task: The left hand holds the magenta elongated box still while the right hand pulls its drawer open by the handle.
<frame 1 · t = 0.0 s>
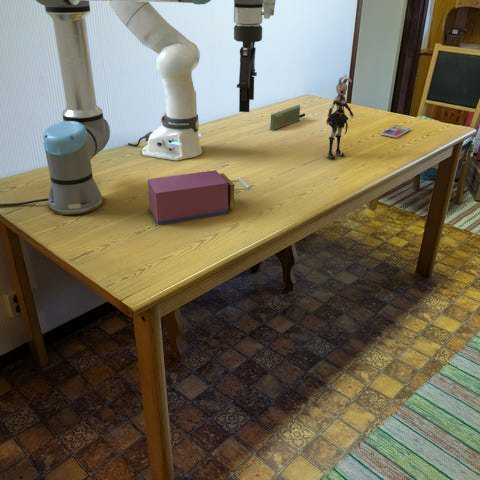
left hand: (246, 105, 144), 28 cm above the table, tool pointing down, fingers open, 13 cm apart
right hand: (268, 16, 163), 48 cm above the table, tool pointing down, fingers open, 8 cm apart
magenta elongated box: (188, 211, 147), on the table
figurine: (333, 156, 189), on the table
drawer: (207, 193, 147), point 5 cm above the table, slide at 1.0 cm
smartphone: (395, 133, 215), on the table
handheld radio: (288, 123, 225), on the table
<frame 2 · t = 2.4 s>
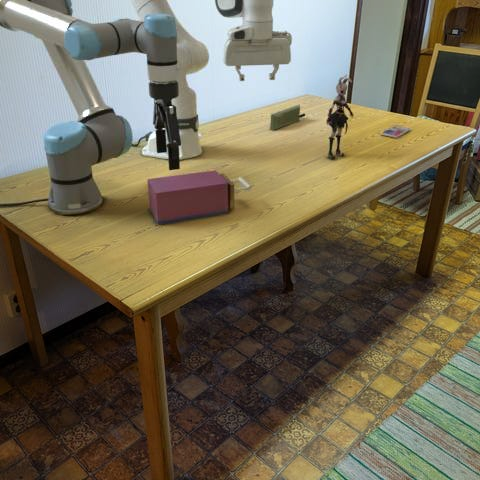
left hand: (167, 160, 138), 16 cm above the table, tool pointing down, fingers open, 13 cm apart
right hand: (256, 80, 155), 32 cm above the table, tool pointing down, fingers open, 8 cm apart
nothing on the table moved.
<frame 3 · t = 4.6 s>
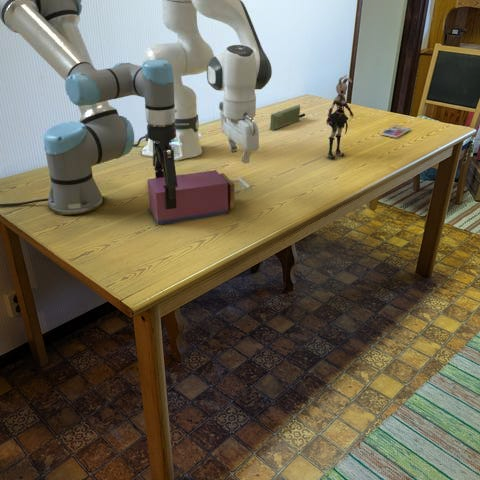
left hand: (166, 200, 143), 5 cm above the table, tool pointing down, fingers closed on magenta elongated box, 10 cm apart
right hand: (239, 157, 146), 15 cm above the table, tool pointing down, fingers open, 8 cm apart
magenta elongated box: (188, 211, 147), on the table, touching left hand
everything else where it was.
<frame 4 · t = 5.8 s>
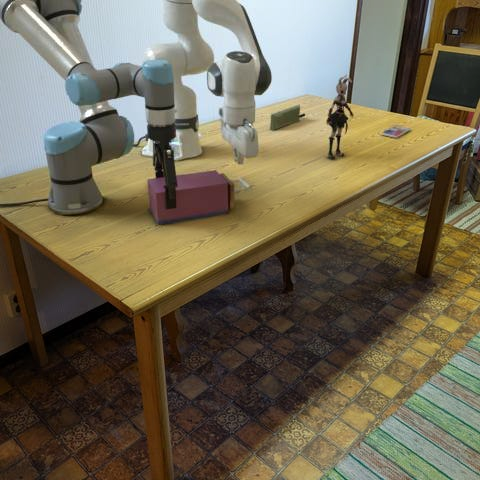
left hand: (166, 200, 143), 5 cm above the table, tool pointing down, fingers closed on magenta elongated box, 10 cm apart
right hand: (238, 162, 146), 13 cm above the table, tool pointing down, fingers closed
magenta elongated box: (188, 211, 147), on the table, touching left hand
everything else where it was.
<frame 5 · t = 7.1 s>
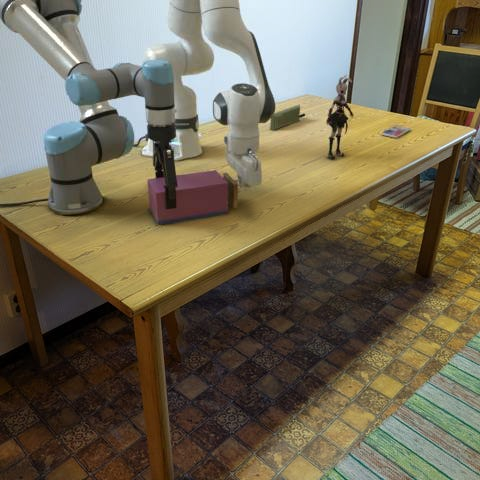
left hand: (166, 200, 143), 5 cm above the table, tool pointing down, fingers closed on magenta elongated box, 10 cm apart
right hand: (242, 188, 151), 5 cm above the table, tool pointing down, fingers closed, pressing on drawer
magenta elongated box: (188, 211, 147), on the table, touching left hand
drawer: (210, 193, 147), point 5 cm above the table, slide at 2.1 cm, touching right hand
everything else where it was.
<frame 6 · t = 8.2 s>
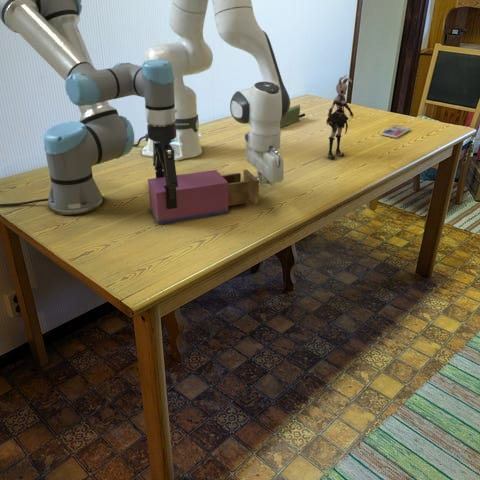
left hand: (166, 200, 143), 5 cm above the table, tool pointing down, fingers closed on magenta elongated box, 10 cm apart
right hand: (263, 185, 153), 5 cm above the table, tool pointing down, fingers closed, pressing on drawer
magenta elongated box: (189, 210, 148), on the table, touching left hand
drawer: (231, 189, 150), point 5 cm above the table, slide at 8.5 cm, touching right hand
everything else where it was.
when the left hand's fingers open (5 cm above the table, at t = 9.6 s): magenta elongated box stays where it is, on the table.
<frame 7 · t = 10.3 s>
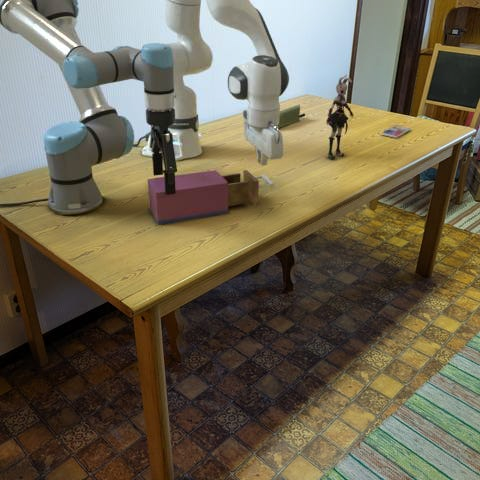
left hand: (164, 184, 141), 9 cm above the table, tool pointing down, fingers open, 13 cm apart
right hand: (262, 163, 149), 12 cm above the table, tool pointing down, fingers closed
magenta elongated box: (188, 211, 148), on the table
drawer: (231, 189, 150), point 5 cm above the table, slide at 8.5 cm
everything else where it was.
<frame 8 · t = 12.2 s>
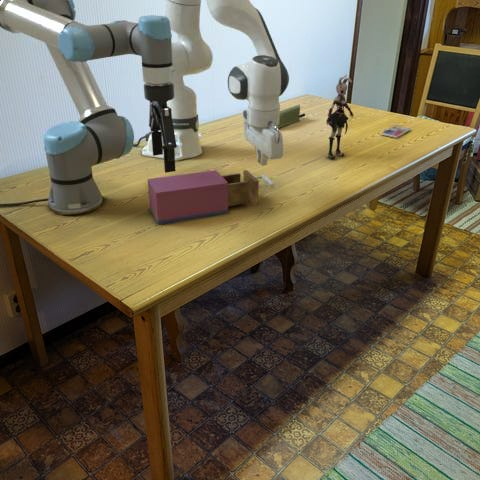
left hand: (163, 162, 138), 16 cm above the table, tool pointing down, fingers open, 13 cm apart
right hand: (262, 163, 149), 12 cm above the table, tool pointing down, fingers closed
nothing on the table moved.
at the end: drawer slide at 8.5 cm; magenta elongated box tilted 0°; magenta elongated box never tilted more than 1° during the clip; magenta elongated box moved 0.1 cm from its start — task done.
